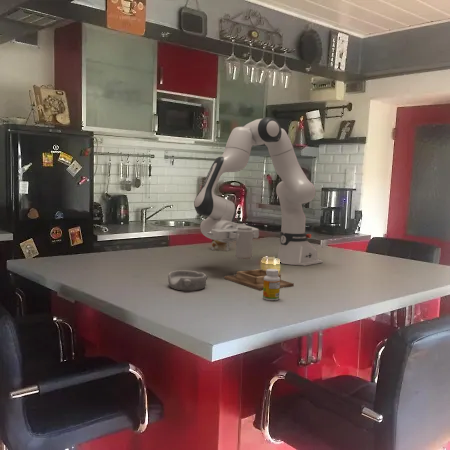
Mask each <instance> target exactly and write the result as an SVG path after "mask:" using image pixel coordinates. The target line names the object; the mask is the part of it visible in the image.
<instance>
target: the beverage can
mask: <svg viewBox="0 0 450 450" xmlns="http://www.w3.org/2000/svg"><path fill="white" fill-rule="evenodd" d="M251 227H252V226H250V227H238V229H237V232H236V234H239V235H240V238H239V239H236V241H235V257H237V259H240V260H249V259H251V258H252V257H253V241H254V240H253V239H254V238H253V230H252V228H251Z"/></svg>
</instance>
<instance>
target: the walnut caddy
mask: <svg viewBox="0 0 450 450" xmlns="http://www.w3.org/2000/svg"><path fill="white" fill-rule="evenodd" d="M266 270H267V269H249V270H240V271H237V270H236V274H232V275H225V276H224V278H223V279H224V280H228V281H230V282H234V283H237V284H239V285H241V286H245V287H248V288H251V289H254V290H257V291H263V284H264V277H265V276H266V275H267V274H266ZM277 276H278V277H280V289H283V287H284V288H289V287H290V288H291V287H294V285H295V284H294V283H293V282H290V281H285V280H282V279H281V276H282V274H280V273H278V275H277Z"/></svg>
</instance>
